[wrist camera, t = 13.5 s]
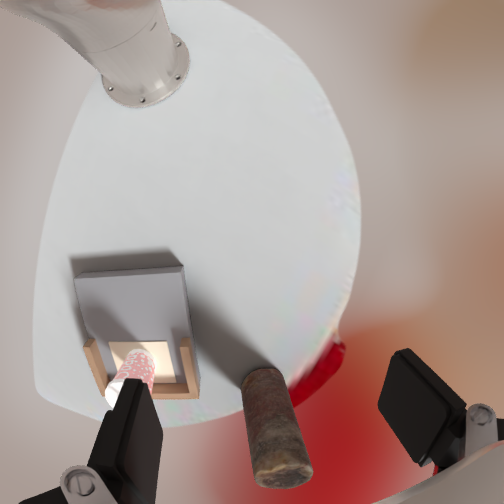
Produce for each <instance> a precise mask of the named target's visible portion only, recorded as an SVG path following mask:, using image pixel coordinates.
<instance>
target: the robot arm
mask: <svg viewBox="0 0 504 504" xmlns="http://www.w3.org/2000/svg"><path fill="white" fill-rule="evenodd" d="M0 7H1V8H3V9H5V10H7V11H9V12H11V13H14V14H16V15H19V16H22V17H25V18H27V19H30V20H33V21H35V22H37V23H39V24H41V25H43V26H45V27H47V28H48V29H50V30H51V31H53V32H54V33H56V34H57V35H58V36H60V37H61V38H62V39H63V40H64V41H65V42H67V43H68V44H69V45H70V46H71V47H72V48H73V49H75V50H76V51H77V52H78V53H79V54H80V55H81V56H82V57H84V58H85V59H86V60H87V61H88V62H89V63H90V64H91V65H92V66H94V67H95V68H96V69H97V70H98V71H99V72H100V73H101V74H102V75H103V85H104V88H105V90H106V92H107V94H108V95H109V96H110V97H111V98H112V99H113V100H114V101H115V102H117V103H119V104H121V105H123V106H127V107H134V108H140V107H147V106H151V105H154V104H156V103H159V102H161V101H163V100H164V99H166V98H167V97H169V96H170V95H172V94H173V93H174V92H175V91H176V90H177V89H178V88H179V87H180V85H181V84H182V83H183V81H184V79H185V78H186V76H187V73H188V70H189V64H190V58H189V52H188V49H187V47H186V45H185V43H184V42H183V41H182V40H181V39H180V38H179V37H178V36H176V35H175V34H172V33H170V29H169V26H168V23H167V20H166V17H165V13H164V10H163V7H162V3H161V0H0ZM178 46H179V47H178ZM177 78H180V79H179V80H177ZM112 89H113V90H112ZM144 100H145V102H144V103H142V102H143V101H144ZM466 405H467V404H466V403H465V402H464V401H463V400H462V399H461V398H460V397H459V396H458V395H457V394H456V393H455V392H454V391H453V390H452V389H451V388H450V387H449V386H448V385H447V384H446V383H445V382H444V381H443V380H442V379H441V378H440V377H439V376H438V375H437V374H436V373H435V372H434V371H433V370H432V369H431V368H430V367H429V366H428V365H426V364H425V363H424V362H423V361H422V360H421V359H420V358H419V357H418V356H417V355H416V354H415V353H414V352H413V351H412V350H411V349H409V348H406V349H403V350H399V351H396V352H395V353H394V355H393V356H392V357H391V360H390V364H389V367H388V371H387V375H386V378H385V381H384V385H383V388H382V391H381V394H380V397H379V400H378V409H379V411H380V412H381V414H382V415H383V417H384V418H385V420H386V421H387V423H388V424H389V426H390V427H391V429H392V430H393V431H394V433H395V434H396V436H397V437H398V439H399V440H400V442H401V443H402V445H403V446H404V448H405V449H406V451H407V452H408V454H409V455H410V457H411V458H412V460H413V461H414V462H415V463H418V464H419V466H420V467H423V466H425V465H427V464H429V463H431V461H433V462H434V464H435V465H434V470H433V475H432V477H430V478H429V479H427V480H425V481H423V482H421V483H419V484H417V485H415V486H413V487H411V488H409V489H406V490H404V491H402V492H400V493H397V494H395V495H393V496H391V497H388V498H385V499H383V500H380V501H378V502H375V503H373V504H504V419H498V418H496V414H495V412H494V410H493V409H492V408H491V407H489V406H487V405H485V404H481V403H480V404H474V405H472V406H470V407H469V408H468V410H466V409H465V407H466ZM162 441H163V430H162V427H161V424H160V421H159V419H158V416H157V413H156V410H155V407H154V404H153V400H152V397H151V394H150V391H149V387H148V384H147V383H143V381H142V380H141V379H138V378H126V379H125V380H124V382H123V385H122V388H121V390H120V393H119V395H118V398H117V401H116V403H115V406H114V409H113V411H112V410H108V411H107V412H106V414H105V416H104V419H103V422H102V424H101V427H100V430H99V432H98V435H97V438H96V441H95V444H94V447H93V449H92V453H91V455H90V458H89V461H88V464H87V466H80V465H77V466H73V467H70V468H68V469H67V470H66V471H65V472H64V473H63V474H62V476H61V478H60V486H59V487H57V488H55V489H52V490H50V491H47V492H45V493H42V494H39V495H37V496H34V497H31V498H29V499H26V500H23V501H22V502H20V503H19V504H155V498H156V489H157V479H158V471H159V463H160V456H161V448H162Z"/></svg>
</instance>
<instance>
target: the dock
mask: <svg viewBox="0 0 504 504" xmlns="http://www.w3.org/2000/svg"><path fill="white" fill-rule="evenodd" d="M73 280H74V284H75V289H76V293H77V297H78V301H79V305H80V309H81V313H82V317H83V320H84V324H85V327H86V330H87V334H88V337H89V339H88V341H87V342H86V343H85V345H84V346H83V349H84V352H85V354H86V357H87V360H88V363H89V365H90V368H91V371H92V373H93V376H94V378H95V381H96V383H97V386H98V388H99V390H100V393H101V395H102V396H104V397H105V390H106V388H107V386H108V384H109V382H111V381H113V379H114V377H115V376H116V374H117V372H118V371H119V369H120V367H121V365H122V364H123V362H124V360H125V359H126V357H127V355H128V354H129V352H130V351H132V350H134V349H142V350H146V351H147V352H149V353H151V354H152V355H153V356H154V358H155V360H156V371H155V376H154V382H153V387H152V393H151V397H152V399H199V392H200V372H199V367H198V361H197V356H196V350H195V344H194V338H193V332H192V325H191V319H190V312H189V305H188V298H187V291H186V283H185V275H184V266H174V267H160V268H145V269H131V270H116V271H101V272H85V273H81V274H80V275H78V276H77V277H75V278H74V279H73Z"/></svg>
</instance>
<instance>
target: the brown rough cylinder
mask: <svg viewBox="0 0 504 504" xmlns="http://www.w3.org/2000/svg"><path fill="white" fill-rule="evenodd" d="M241 393H242V401H243V408H244V415H245V421H246V428H247V434H248V442H249V448H250V455H251V461H252V468H253V474H254V478H255V481H256V483H257V484H258V485H260V486H262V487H266V488H273V489H277V488H279V489H288V488H294V487H297V486H299V485H302V484H303V483H306V482H307V481H309V480H310V478H311V477H312V475H313V469H312V466H311V462H310V459H309V456H308V453H307V450H306V447H305V444H304V441H303V438H302V435H301V432H300V428H299V426H298V422H297V419H296V416H295V413H294V409H293V406H292V403H291V400H290V396H289V393H288V390H287V387H286V384H285V380H284V377H283V375H282V374H281V373H280V372H279V371H278V370H276V369H258V370H256V371H253V372H251V373H250V374H249V375H248V376H247V377H246V378H245V380H244V382H243V383H242V386H241Z"/></svg>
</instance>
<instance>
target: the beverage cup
mask: <svg viewBox="0 0 504 504" xmlns="http://www.w3.org/2000/svg"><path fill="white" fill-rule="evenodd" d="M155 371H156V360H155V358H154V356H153V355H152V354H151V353H149V352H147V351H146V350H142V349H134V350H132V351H130V352H129V354H128V355H127V357H126V359H125V360H124V362H123V364H122V365H121V367H120V369H119V371H118V372H117V374H116V376H115V377H114V379H113V381H111V382H109V384H108V386H107V388H106V390H105V397H106V400H107V401H108V403H109V404H110V406H112V407H113V408H114V406H115V403H116V401H117V398H118V395H119V393H120V390H121V388H122V385H123V382H124V380H125V379H126V378H138V379H141V380H142V381H143V383H147V384H148V387H149V391H150V394H151V393H152V387H153V382H154V376H155Z"/></svg>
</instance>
